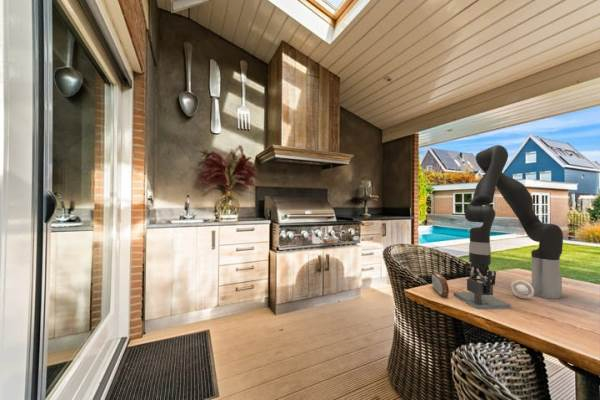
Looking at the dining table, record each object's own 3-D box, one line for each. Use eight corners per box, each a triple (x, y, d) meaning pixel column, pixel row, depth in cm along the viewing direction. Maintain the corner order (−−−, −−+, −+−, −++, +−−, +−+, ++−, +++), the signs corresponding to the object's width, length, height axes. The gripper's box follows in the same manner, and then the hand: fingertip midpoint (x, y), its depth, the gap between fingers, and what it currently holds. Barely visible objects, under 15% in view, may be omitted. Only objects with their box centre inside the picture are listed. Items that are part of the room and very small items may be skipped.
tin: (449, 299, 107) (449, 280, 108) (441, 298, 108) (441, 279, 108) (437, 287, 122) (437, 270, 122) (430, 287, 123) (430, 270, 123)
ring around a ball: (535, 300, 107) (535, 281, 107) (531, 303, 103) (531, 284, 103) (511, 294, 113) (511, 277, 113) (507, 297, 110) (507, 279, 110)
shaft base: (482, 295, 112) (482, 276, 112) (510, 308, 98) (510, 286, 98) (453, 295, 111) (453, 276, 111) (477, 309, 97) (477, 287, 98)
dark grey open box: (478, 295, 102) (478, 282, 102) (467, 289, 108) (467, 277, 108) (493, 295, 102) (492, 282, 102) (480, 289, 108) (480, 277, 109)
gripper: (459, 249, 112) (459, 285, 112) (485, 255, 98) (485, 297, 98) (474, 249, 113) (475, 285, 112) (502, 255, 98) (502, 297, 98)
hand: (479, 290), depth 105 cm, fingers closed on dark grey open box, 6 cm apart
